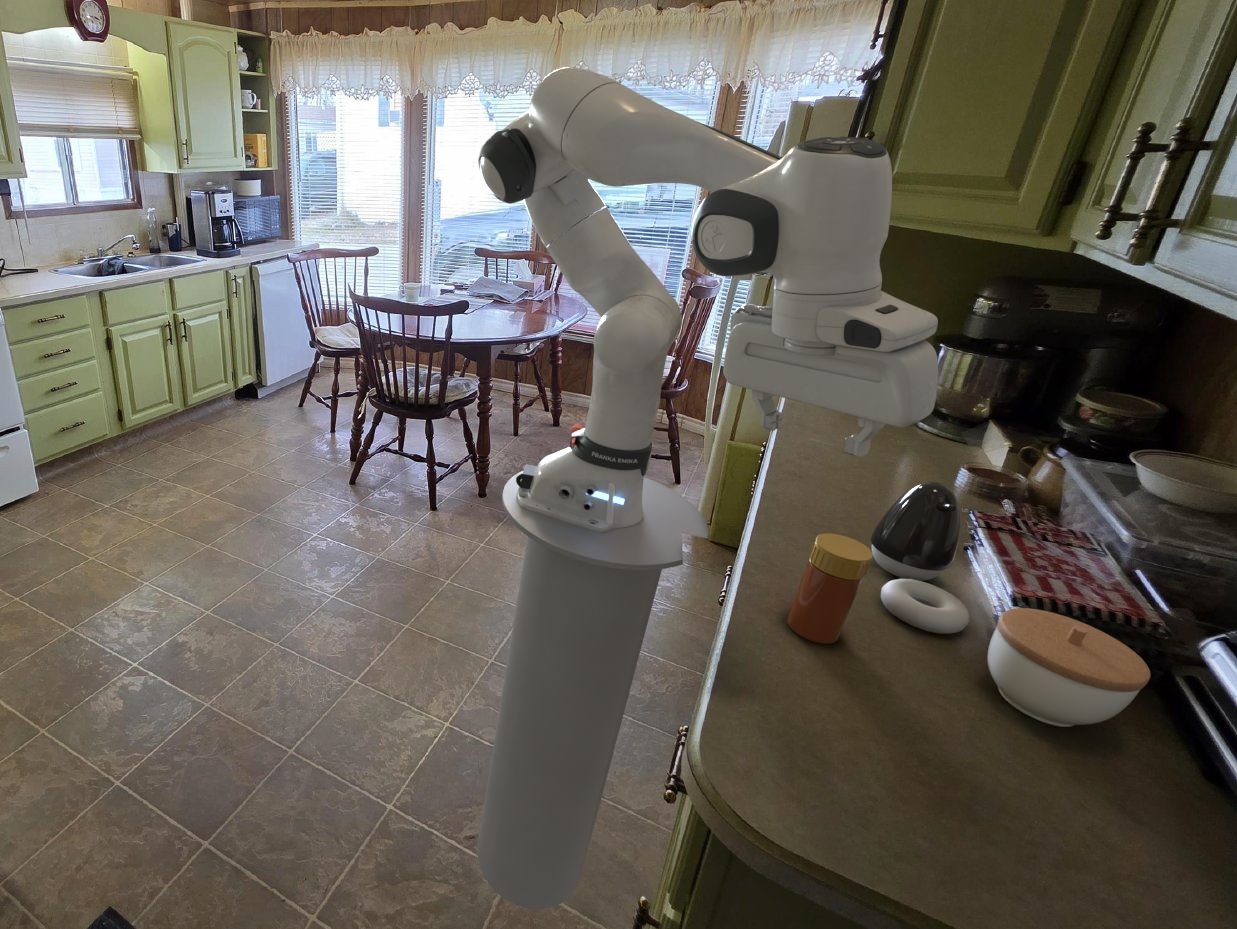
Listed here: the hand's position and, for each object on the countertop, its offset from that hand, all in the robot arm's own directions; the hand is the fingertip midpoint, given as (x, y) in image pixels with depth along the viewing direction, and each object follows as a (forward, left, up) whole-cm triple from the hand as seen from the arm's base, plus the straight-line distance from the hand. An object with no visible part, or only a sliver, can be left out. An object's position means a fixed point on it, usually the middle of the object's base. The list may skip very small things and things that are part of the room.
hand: (811, 440), depth 72 cm
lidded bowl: (+33, +7, -30) cm, 46 cm away
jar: (+10, +11, -30) cm, 34 cm away
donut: (+25, +21, -30) cm, 45 cm away
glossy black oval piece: (+26, +33, -30) cm, 52 cm away
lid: (+10, +11, -20) cm, 25 cm away
